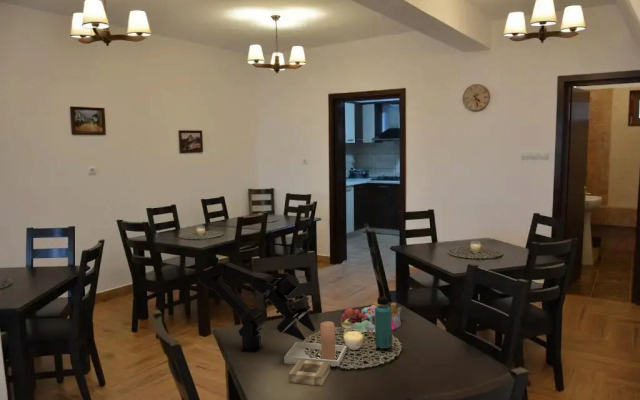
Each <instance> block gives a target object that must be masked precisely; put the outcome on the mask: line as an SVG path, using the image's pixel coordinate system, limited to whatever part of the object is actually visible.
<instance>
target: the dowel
mask: <svg viewBox="0 0 640 400" xmlns="http://www.w3.org/2000/svg"><path fill="white" fill-rule="evenodd" d="M335 330H336V329H335V323H334V322H333V321H328V320H327V321H322V322H321V323H320V344H321V350H322V359H327V360H334V359H335V358H336V356H335V345H336V336H335V335H336V333H335Z"/></svg>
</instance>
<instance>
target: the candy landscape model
mask: <svg viewBox="0 0 640 400" xmlns="http://www.w3.org/2000/svg"><path fill="white" fill-rule="evenodd" d="M377 306H379V304H377V300H376V301H373V302H372V304H371V306H367V307H363V308H362V309H361V311H360V310H359V309H358V308H357V309H354V308H352V307H346V308H345V310H344V313H343V314H341V318H340V324H341V327H342V328H343V327H344V328H351V329H353V330H360V331H363V332H375V308H376V307H377ZM396 307H397V303H396V302H391V303H390V308H391V322H392V331H394V330H395V329H397V328H398V329H399V327H401V325H402V324H401V317H400V315H401V310H402V307H397V308H396ZM344 328H343V329H344Z"/></svg>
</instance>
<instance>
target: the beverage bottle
mask: <svg viewBox="0 0 640 400" xmlns="http://www.w3.org/2000/svg"><path fill="white" fill-rule="evenodd" d="M376 301H377V304H379V306H377V307H376V308H375V334H374V339H375V340H374V341H375V342H374V343H375V346H376V347H377V348H380V349H388V348H391V347H392V345H393V333H392V332H393V330H392V322H391V306H389V298H388V297H387V296H379V297H377V300H376Z"/></svg>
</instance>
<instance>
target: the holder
mask: <svg viewBox="0 0 640 400" xmlns="http://www.w3.org/2000/svg"><path fill="white" fill-rule="evenodd" d="M330 372H331V368H330V362H320V361H309V360H298V362H297V363H296V364H294V366H293V368H292V369H291V370H290V372H289V373H288V382H289V383H292V384H300V385H301V384H303V385H309V386H311V385H312V386H320V387H322V386H323V384H324V383H325V381H326V379H327V377H328V375H329V374H330Z"/></svg>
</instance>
